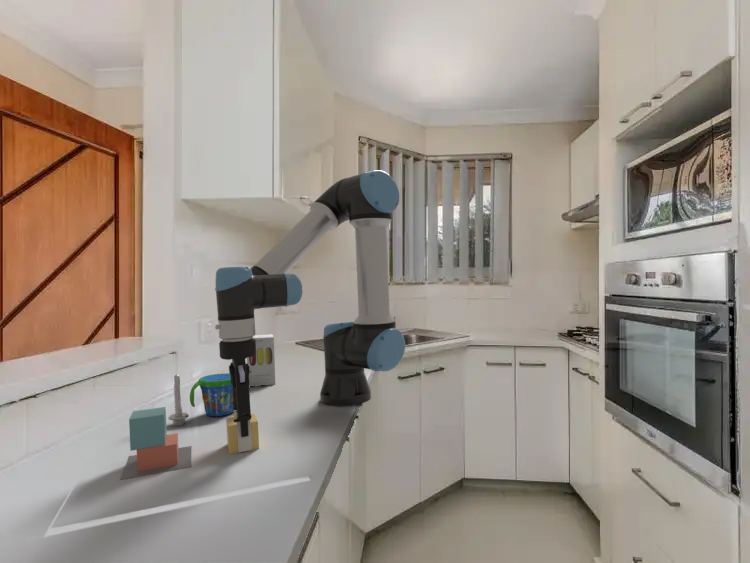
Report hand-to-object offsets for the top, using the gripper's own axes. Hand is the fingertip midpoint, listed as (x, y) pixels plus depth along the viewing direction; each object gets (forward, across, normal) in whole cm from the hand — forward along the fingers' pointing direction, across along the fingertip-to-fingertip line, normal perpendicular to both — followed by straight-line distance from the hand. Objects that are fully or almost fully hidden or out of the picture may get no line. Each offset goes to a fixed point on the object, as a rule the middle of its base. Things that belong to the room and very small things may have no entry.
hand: (243, 445), depth 97 cm
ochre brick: (0, 0, 0) cm, 0 cm away
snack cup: (+1, -31, -3) cm, 31 cm away
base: (+1, +1, -16) cm, 17 cm away
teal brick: (-4, +1, -18) cm, 18 cm away
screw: (+1, -26, -14) cm, 30 cm away
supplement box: (+2, -62, +12) cm, 63 cm away
